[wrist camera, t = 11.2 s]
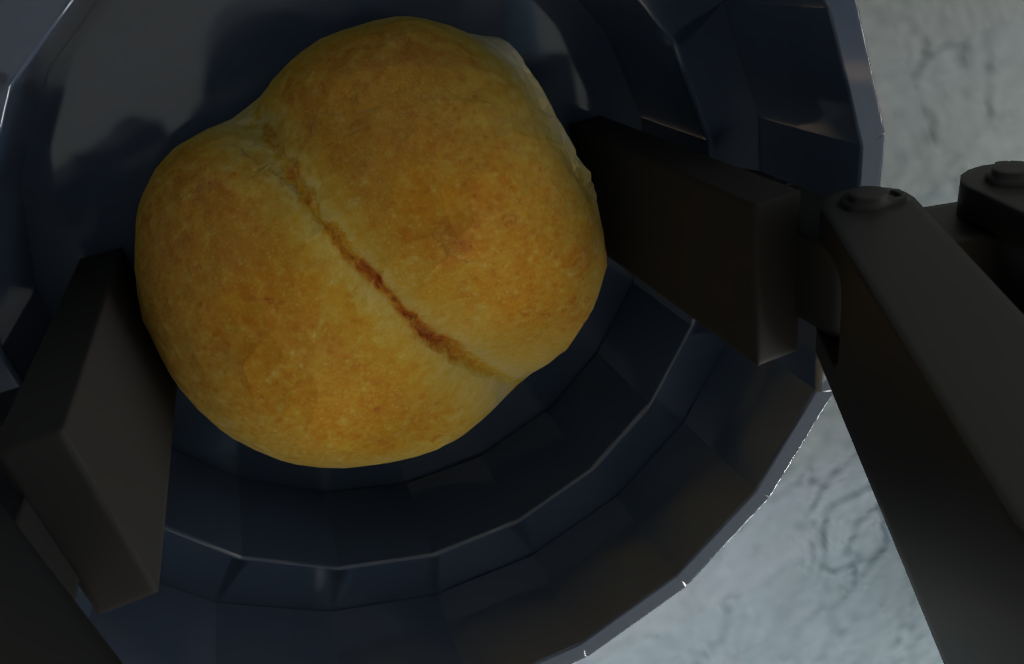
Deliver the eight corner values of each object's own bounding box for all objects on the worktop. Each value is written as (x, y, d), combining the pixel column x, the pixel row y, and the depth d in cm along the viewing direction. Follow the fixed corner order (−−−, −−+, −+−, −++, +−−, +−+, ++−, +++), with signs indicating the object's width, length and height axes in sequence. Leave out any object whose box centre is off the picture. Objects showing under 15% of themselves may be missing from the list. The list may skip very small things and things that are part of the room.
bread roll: (48, 241, 14) (-8, 330, 10) (428, -58, 14) (496, -68, 10) (338, 488, 18) (365, 608, 15) (625, 261, 18) (718, 327, 15)
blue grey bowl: (670, -277, 14) (927, -416, 9) (707, 405, 22) (856, 537, 17) (-316, -128, 11) (-807, -217, 5) (147, 619, 18) (121, 867, 13)
